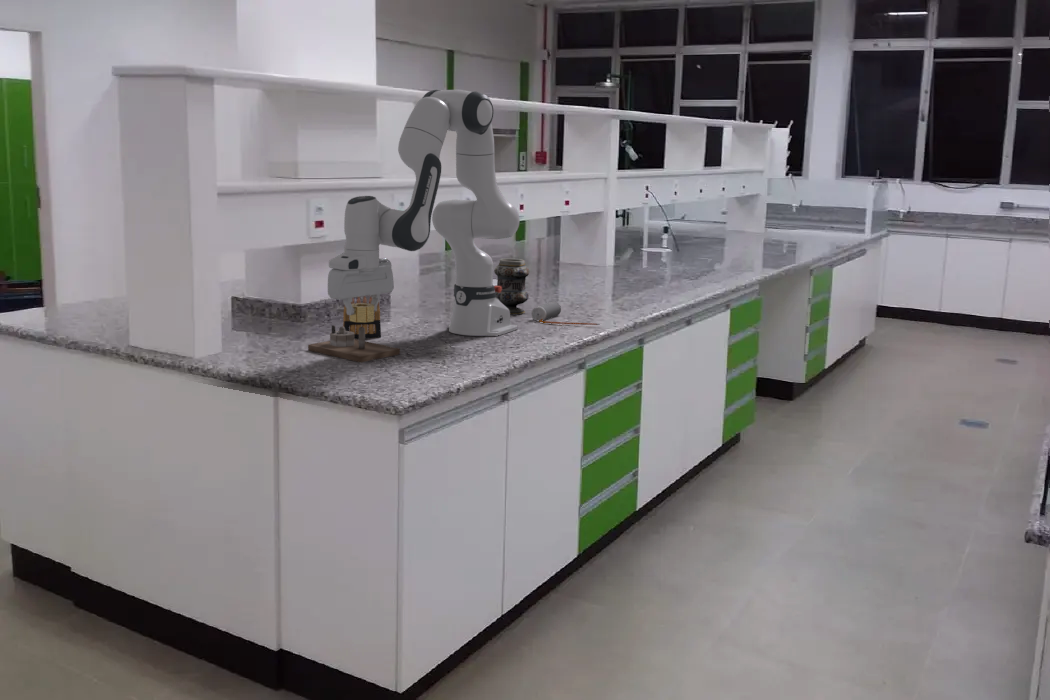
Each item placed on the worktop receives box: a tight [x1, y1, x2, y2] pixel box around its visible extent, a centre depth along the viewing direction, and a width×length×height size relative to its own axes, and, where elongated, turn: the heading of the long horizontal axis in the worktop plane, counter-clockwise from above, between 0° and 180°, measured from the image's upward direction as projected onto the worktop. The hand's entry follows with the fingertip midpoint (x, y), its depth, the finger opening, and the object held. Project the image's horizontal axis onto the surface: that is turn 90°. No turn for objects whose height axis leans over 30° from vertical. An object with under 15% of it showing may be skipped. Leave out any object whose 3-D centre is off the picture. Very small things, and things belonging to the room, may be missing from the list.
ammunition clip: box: [342, 295, 382, 339], centre depth 266 cm, size 11×2×12 cm, turn 110°
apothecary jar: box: [493, 257, 530, 315], centre depth 316 cm, size 12×12×18 cm
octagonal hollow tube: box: [349, 302, 374, 322], centre depth 244 cm, size 6×6×4 cm
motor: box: [531, 301, 601, 326], centre depth 307 cm, size 23×22×5 cm
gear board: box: [307, 325, 401, 363], centre depth 248 cm, size 14×20×7 cm
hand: (361, 313), depth 244 cm, fingers closed on octagonal hollow tube, 6 cm apart
